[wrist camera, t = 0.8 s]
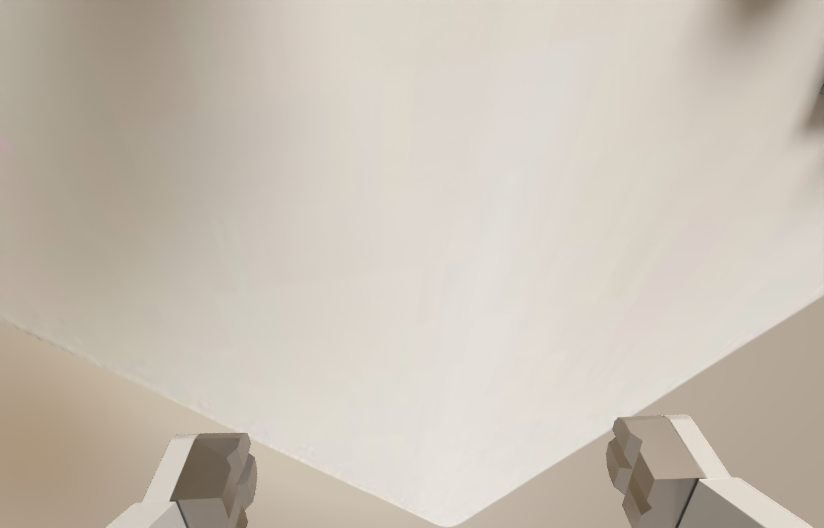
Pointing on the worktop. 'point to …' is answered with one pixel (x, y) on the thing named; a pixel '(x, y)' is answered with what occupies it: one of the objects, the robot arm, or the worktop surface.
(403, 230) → the worktop surface
